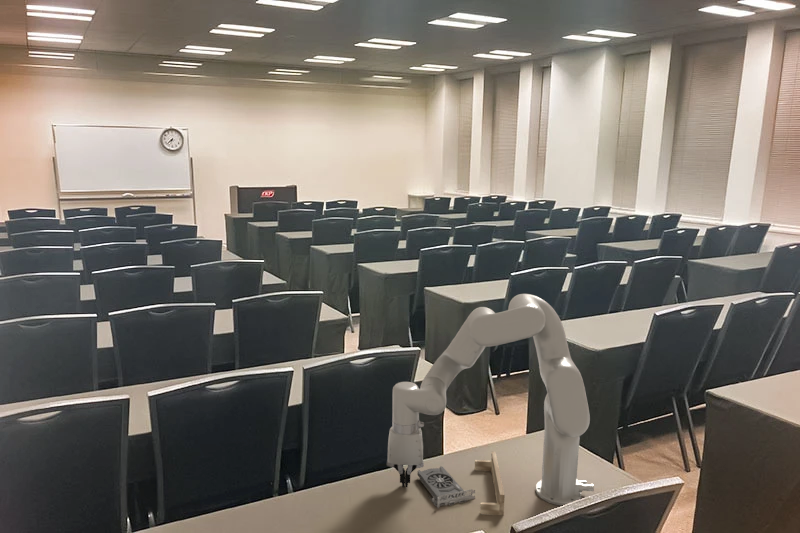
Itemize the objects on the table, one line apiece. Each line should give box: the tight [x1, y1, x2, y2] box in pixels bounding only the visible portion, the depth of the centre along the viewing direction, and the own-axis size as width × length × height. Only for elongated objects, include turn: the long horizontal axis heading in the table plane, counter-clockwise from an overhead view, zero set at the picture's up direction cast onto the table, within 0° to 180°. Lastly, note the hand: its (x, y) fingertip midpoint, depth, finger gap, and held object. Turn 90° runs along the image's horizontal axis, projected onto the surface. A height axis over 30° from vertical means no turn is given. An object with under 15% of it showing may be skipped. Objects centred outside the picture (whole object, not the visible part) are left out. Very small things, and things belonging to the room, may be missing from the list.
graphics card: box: [417, 465, 476, 510], centre depth 164 cm, size 17×4×12 cm
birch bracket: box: [474, 451, 505, 516], centre depth 162 cm, size 6×23×6 cm, turn 176°
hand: (405, 484), depth 164 cm, fingers closed
